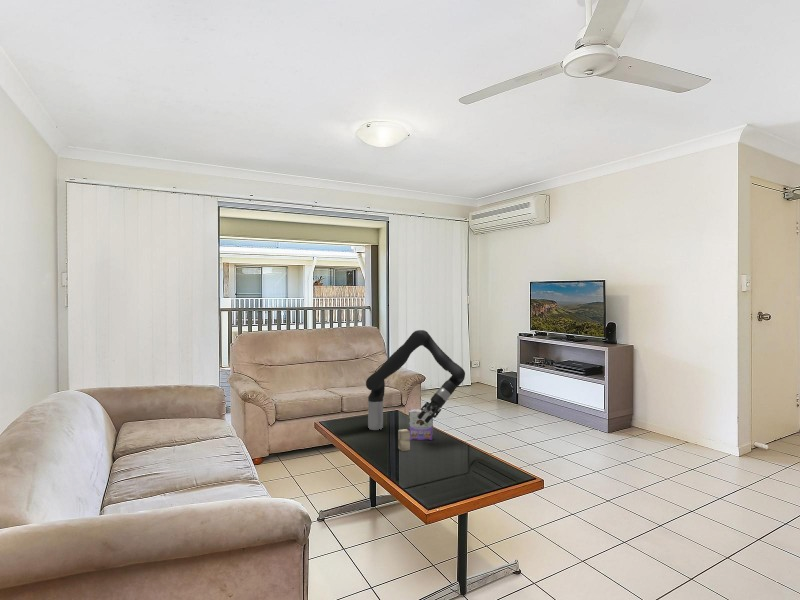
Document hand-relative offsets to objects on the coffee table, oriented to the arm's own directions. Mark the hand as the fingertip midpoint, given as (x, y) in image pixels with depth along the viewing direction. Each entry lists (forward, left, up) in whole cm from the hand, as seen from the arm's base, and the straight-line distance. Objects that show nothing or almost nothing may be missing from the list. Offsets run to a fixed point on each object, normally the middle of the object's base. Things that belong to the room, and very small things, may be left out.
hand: (422, 420), depth 244 cm
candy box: (-13, +6, -15) cm, 20 cm away
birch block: (0, -11, -14) cm, 18 cm away
